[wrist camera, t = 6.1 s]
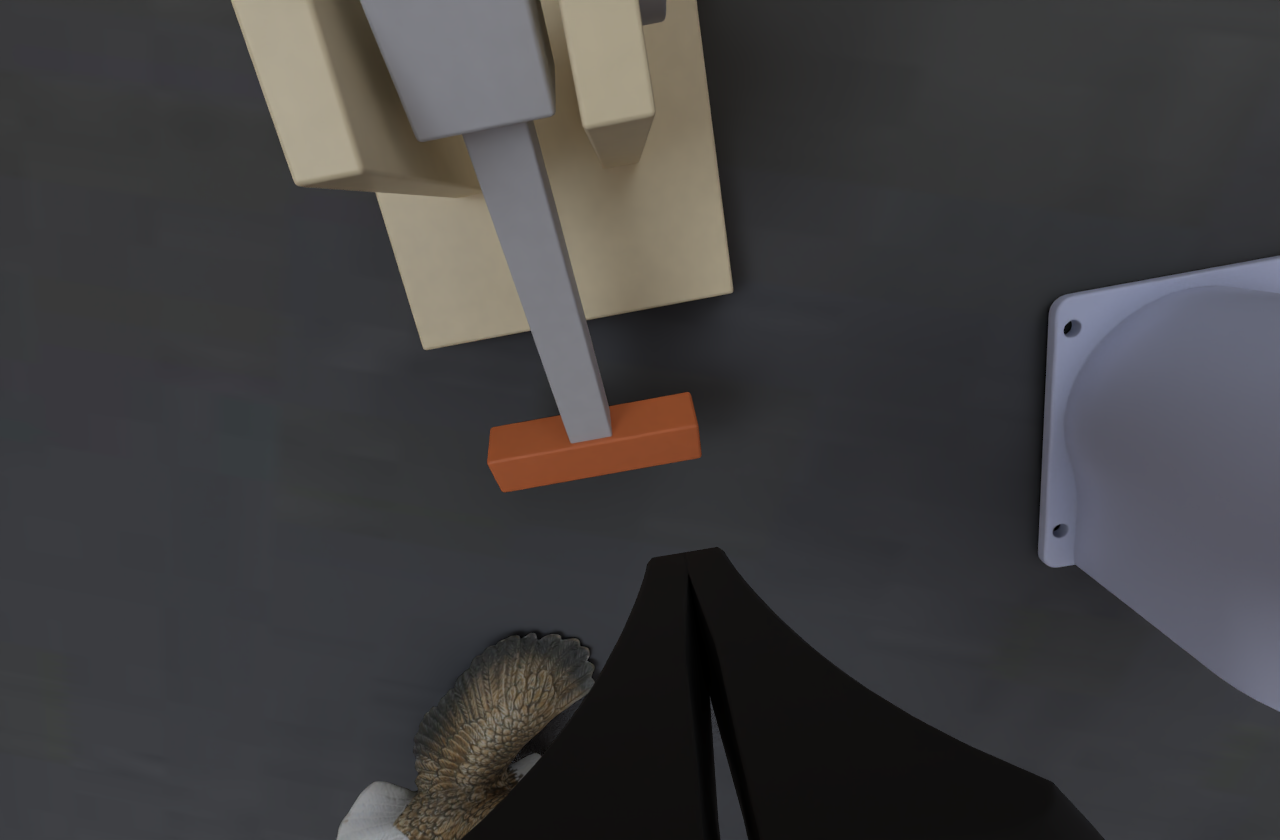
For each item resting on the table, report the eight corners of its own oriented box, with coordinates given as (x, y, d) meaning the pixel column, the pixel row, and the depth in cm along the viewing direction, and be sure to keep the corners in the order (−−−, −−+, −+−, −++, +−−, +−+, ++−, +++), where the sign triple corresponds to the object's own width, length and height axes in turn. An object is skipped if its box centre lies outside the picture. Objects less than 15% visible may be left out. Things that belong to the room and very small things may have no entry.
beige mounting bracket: (727, 288, 18) (828, 363, 9) (435, 342, 18) (259, 467, 9) (660, -225, 14) (724, -961, 5) (289, -145, 14) (-247, -715, 6)
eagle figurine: (548, 871, 24) (692, 774, 21) (398, 1041, 18) (564, 948, 14) (450, 706, 27) (563, 592, 23) (287, 808, 20) (405, 675, 17)
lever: (691, 410, 17) (705, 474, 16) (505, 443, 18) (500, 510, 16) (619, -165, 9) (635, -157, 7) (256, -87, 9) (189, -62, 7)
